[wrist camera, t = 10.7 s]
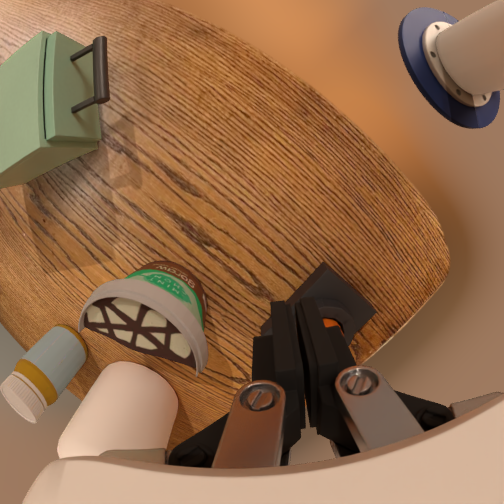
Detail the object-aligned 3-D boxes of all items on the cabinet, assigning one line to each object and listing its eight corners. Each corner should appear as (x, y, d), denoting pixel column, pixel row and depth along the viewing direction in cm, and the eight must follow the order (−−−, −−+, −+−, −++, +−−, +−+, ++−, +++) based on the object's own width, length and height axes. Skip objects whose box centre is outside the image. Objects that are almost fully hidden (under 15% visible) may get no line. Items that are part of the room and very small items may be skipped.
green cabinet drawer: (126, 37, 20) (91, 9, 12) (135, 127, 23) (92, 116, 16) (25, 96, 21) (-15, 91, 14) (30, 174, 24) (-14, 182, 17)
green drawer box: (91, 54, 21) (42, 30, 12) (98, 148, 25) (39, 147, 15) (19, 101, 22) (-29, 96, 13) (25, 183, 26) (-27, 195, 16)
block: (323, 261, 28) (332, 276, 24) (370, 303, 29) (383, 320, 25) (260, 326, 30) (260, 347, 26) (310, 359, 31) (315, 380, 28)
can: (118, 343, 32) (44, 456, 13) (195, 392, 34) (163, 519, 15) (95, 384, 35) (42, 474, 16) (159, 424, 37) (127, 521, 18)
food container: (232, 268, 28) (219, 319, 19) (219, 317, 30) (203, 378, 20) (124, 236, 27) (71, 268, 18) (119, 285, 29) (73, 330, 20)
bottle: (56, 349, 33) (7, 406, 19) (52, 315, 31) (-9, 372, 17) (90, 366, 34) (45, 433, 20) (88, 333, 32) (30, 403, 17)
